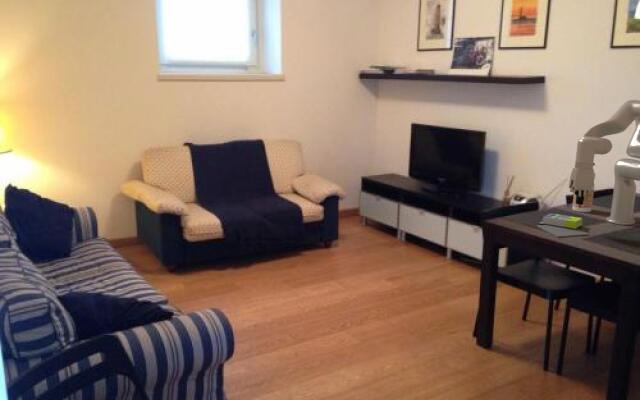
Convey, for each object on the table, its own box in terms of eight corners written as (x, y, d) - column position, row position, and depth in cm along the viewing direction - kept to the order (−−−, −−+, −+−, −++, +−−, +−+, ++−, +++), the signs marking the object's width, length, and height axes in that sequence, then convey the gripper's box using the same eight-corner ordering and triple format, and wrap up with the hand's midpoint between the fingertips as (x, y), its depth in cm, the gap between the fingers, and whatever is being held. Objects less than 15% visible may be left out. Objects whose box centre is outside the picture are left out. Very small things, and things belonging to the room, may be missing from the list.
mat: (566, 224, 268) (566, 223, 268) (588, 235, 252) (588, 234, 252) (536, 226, 265) (536, 225, 265) (557, 237, 249) (557, 236, 249)
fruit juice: (569, 210, 294) (574, 158, 287) (576, 207, 300) (582, 156, 293) (587, 213, 287) (593, 161, 280) (594, 210, 293) (600, 158, 287)
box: (576, 221, 257) (538, 215, 268) (575, 229, 257) (538, 223, 268) (582, 217, 264) (546, 212, 275) (581, 225, 265) (545, 220, 276)
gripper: (592, 163, 257) (588, 201, 261) (564, 164, 254) (560, 203, 258) (603, 166, 250) (598, 205, 254) (574, 167, 247) (569, 207, 251)
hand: (579, 204), depth 256 cm, fingers closed
